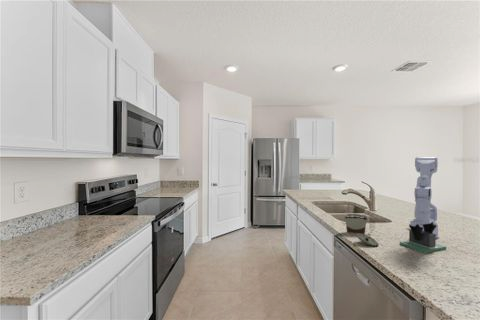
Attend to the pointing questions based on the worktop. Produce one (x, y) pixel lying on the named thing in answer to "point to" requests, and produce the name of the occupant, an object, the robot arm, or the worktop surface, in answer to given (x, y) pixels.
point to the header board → (422, 247)
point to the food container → (355, 223)
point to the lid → (367, 239)
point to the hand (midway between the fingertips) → (422, 239)
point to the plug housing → (423, 238)
